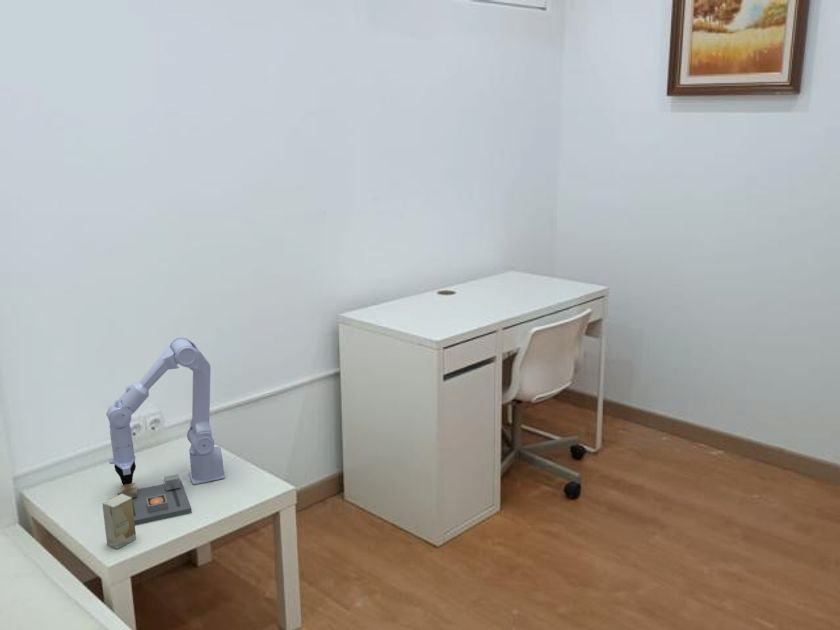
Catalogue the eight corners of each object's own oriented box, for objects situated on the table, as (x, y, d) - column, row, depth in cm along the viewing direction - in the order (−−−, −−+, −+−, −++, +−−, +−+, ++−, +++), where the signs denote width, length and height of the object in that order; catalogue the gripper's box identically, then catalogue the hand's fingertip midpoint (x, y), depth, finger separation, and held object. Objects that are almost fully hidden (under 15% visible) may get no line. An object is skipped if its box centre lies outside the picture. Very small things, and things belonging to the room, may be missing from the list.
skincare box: (117, 550, 202) (111, 507, 198) (106, 545, 204) (100, 503, 201) (137, 538, 207) (132, 496, 204) (127, 533, 209) (121, 492, 206)
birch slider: (136, 491, 227) (135, 482, 226) (137, 496, 224) (136, 487, 224) (121, 494, 225) (120, 485, 225) (122, 499, 223) (121, 490, 222)
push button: (163, 501, 222) (162, 496, 222) (164, 507, 219) (164, 501, 218) (149, 503, 221) (149, 498, 220) (151, 509, 217) (150, 504, 217)
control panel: (181, 484, 235) (180, 474, 234) (191, 512, 219) (190, 501, 218) (118, 497, 228) (116, 487, 227) (123, 527, 212) (122, 516, 211)
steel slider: (178, 483, 232) (177, 473, 231) (180, 487, 229) (179, 478, 228) (164, 485, 230) (163, 476, 229) (166, 490, 228) (165, 481, 227)
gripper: (105, 437, 230) (111, 478, 234) (109, 457, 218) (115, 500, 221) (131, 432, 233) (136, 473, 237) (136, 452, 220) (141, 495, 224)
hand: (127, 486), depth 229 cm, fingers closed
